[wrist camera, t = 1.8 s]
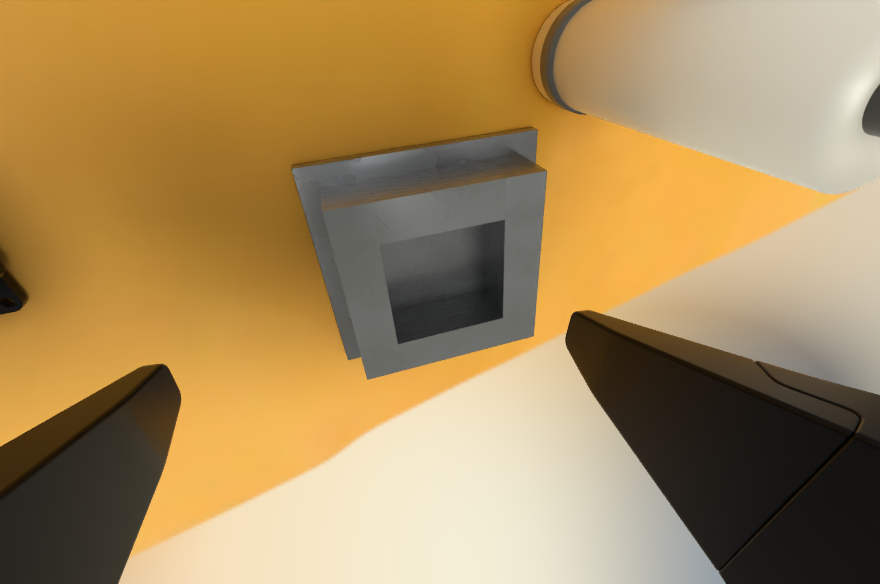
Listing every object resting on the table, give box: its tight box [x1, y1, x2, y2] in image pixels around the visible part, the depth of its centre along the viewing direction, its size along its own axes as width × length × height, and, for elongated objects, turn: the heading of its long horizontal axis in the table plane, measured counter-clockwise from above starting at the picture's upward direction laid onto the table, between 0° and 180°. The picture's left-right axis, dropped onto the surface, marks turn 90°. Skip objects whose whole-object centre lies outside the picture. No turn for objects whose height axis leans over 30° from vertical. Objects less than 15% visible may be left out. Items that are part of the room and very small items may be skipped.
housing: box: [291, 127, 547, 380], centre depth 21 cm, size 12×12×4 cm
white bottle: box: [532, 0, 880, 194], centre depth 13 cm, size 5×5×15 cm
